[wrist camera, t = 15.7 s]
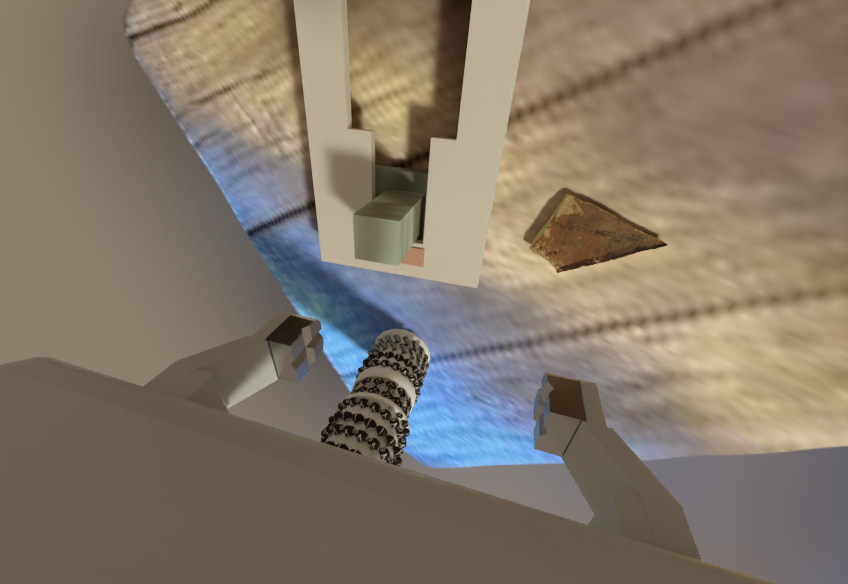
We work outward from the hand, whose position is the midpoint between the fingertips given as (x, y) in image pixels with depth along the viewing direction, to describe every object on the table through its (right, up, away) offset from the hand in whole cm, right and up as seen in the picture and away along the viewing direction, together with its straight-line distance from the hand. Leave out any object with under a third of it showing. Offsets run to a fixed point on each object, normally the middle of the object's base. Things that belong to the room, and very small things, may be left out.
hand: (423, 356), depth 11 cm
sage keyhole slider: (-2, +12, +24) cm, 27 cm away
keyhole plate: (-1, +17, +21) cm, 27 cm away
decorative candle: (-3, -6, +36) cm, 36 cm away
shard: (+17, +9, +22) cm, 29 cm away
